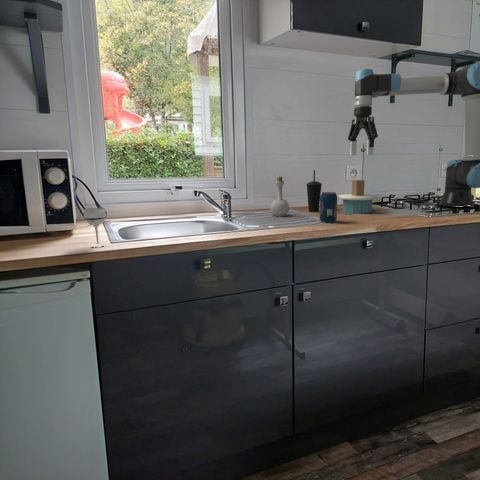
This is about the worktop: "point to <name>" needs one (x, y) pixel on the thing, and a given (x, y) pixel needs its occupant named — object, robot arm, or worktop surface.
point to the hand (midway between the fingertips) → (361, 155)
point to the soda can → (328, 207)
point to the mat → (402, 212)
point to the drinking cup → (313, 195)
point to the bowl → (357, 206)
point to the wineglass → (95, 217)
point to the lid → (358, 192)
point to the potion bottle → (279, 201)
